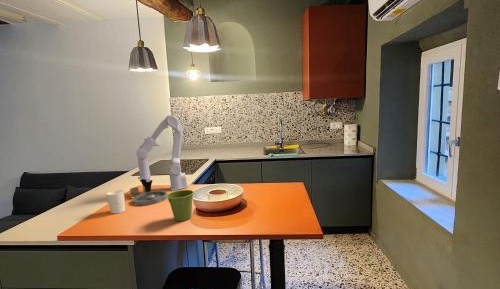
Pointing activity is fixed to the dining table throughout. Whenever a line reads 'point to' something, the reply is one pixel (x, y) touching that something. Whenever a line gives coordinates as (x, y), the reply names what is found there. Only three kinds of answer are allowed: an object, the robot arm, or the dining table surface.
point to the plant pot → (181, 204)
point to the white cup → (116, 201)
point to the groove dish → (148, 202)
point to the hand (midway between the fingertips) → (147, 191)
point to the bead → (134, 191)
